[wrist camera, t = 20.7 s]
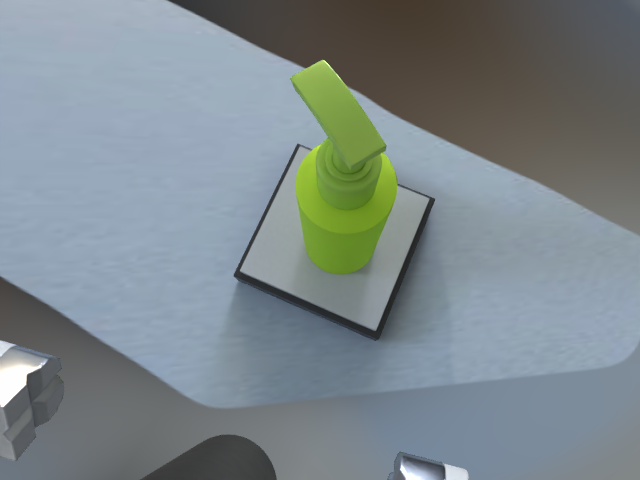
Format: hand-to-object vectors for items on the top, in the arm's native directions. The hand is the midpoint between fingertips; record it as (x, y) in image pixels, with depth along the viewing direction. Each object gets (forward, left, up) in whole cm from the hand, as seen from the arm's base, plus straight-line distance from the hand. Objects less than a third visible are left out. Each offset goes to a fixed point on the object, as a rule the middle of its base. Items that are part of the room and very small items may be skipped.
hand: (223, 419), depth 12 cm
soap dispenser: (+12, +2, -28) cm, 31 cm away
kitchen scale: (+12, +2, -31) cm, 33 cm away
